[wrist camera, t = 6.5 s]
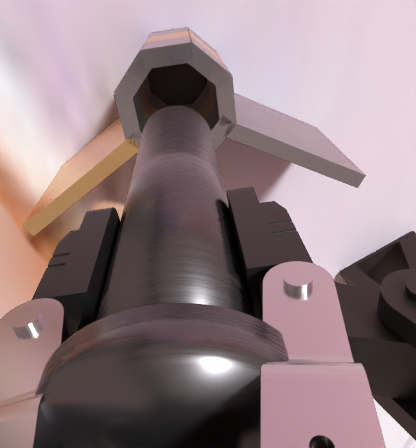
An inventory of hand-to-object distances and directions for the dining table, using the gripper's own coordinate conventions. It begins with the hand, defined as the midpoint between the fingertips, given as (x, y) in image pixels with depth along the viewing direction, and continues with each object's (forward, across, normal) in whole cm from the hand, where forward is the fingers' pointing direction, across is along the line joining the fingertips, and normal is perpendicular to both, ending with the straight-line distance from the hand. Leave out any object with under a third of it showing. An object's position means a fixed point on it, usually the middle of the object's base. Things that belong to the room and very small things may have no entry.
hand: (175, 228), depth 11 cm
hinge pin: (+8, 0, 0) cm, 8 cm away
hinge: (+24, 0, +2) cm, 24 cm away
